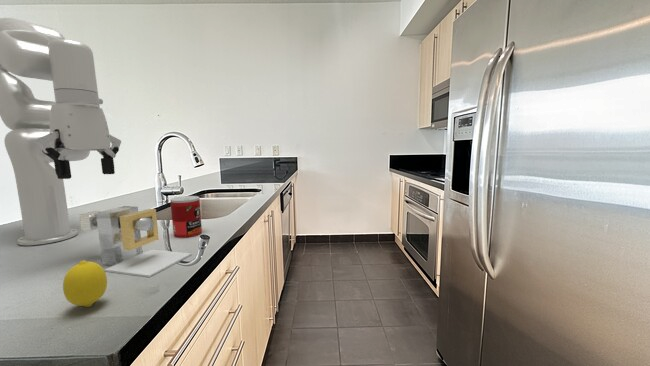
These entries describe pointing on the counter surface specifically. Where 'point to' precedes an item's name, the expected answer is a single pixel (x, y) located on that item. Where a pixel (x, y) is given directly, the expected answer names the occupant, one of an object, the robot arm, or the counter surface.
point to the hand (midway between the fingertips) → (88, 176)
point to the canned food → (186, 216)
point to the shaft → (145, 224)
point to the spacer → (128, 230)
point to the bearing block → (114, 236)
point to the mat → (148, 263)
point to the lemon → (84, 283)
